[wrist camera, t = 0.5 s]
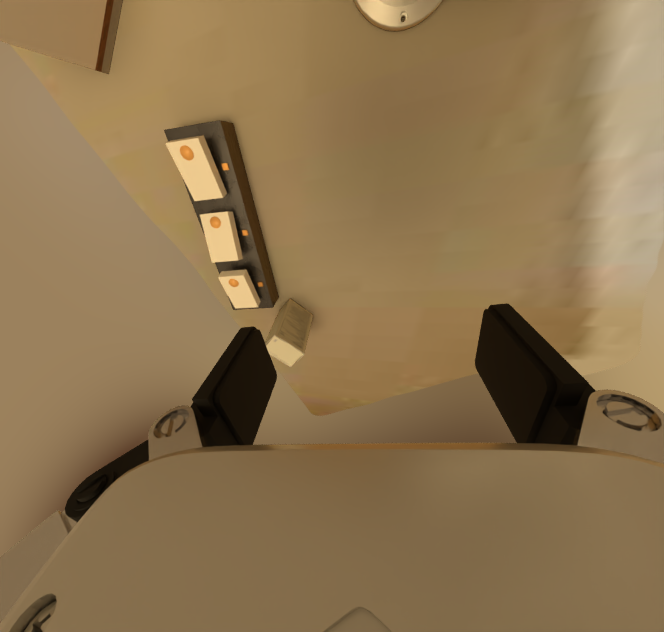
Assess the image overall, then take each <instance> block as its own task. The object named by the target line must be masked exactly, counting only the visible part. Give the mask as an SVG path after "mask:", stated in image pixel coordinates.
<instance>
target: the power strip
mask: <svg viewBox="0 0 664 632" xmlns="http://www.w3.org/2000/svg"><path fill="white" fill-rule="evenodd" d="M164 131H165V134H166V137H167V139H168V142H169V141H172V140H177V139H184V138H190V137H196V136H202V135H204V138H205V140H206V143H207V145H208V148H209V150H210V152H211V155H212V157H213V160H214V162H215V165H216V167H217V170H218V172H219V175H220V177H221V180H222V182H223V184H224V187H225V189H226V192H227V194H226V195H225V196H224V197H223V198H217V199H208V200H200V201H194V199H193V197H192V195H191V193H190V191H189V189H188V187H187V185H186V183H185V181H184V179H183V181H184V183H185V186H186V189H187V191H188V194H189V196H190V199H191V201H192V204H193V207H194V209H195V212H196V214H197V217H198V220H199V222H200V225H201V227H202V230H203V226H202V222H201V218H200V215H201V214H209V213H218V212H227V211H229V212H233V215H234V219H235V224H236V229H237V233H238V238H239V243H240V247H241V252H242V256H243V259H241V260H237V261H225V262H215V264H216V266H217V269H218V272H219V274H220V273H221V271H233V270H247V272H248V274H249V276H250V279H251V281H252V283H253V285H254V288H255V290H256V292H257V294H258V297H259V299H260V301H261V302H260V304H259V307H254V308H236V309H235V307H234V305H233V304H232V302H231V300H230V298H229V300H230V303H231V305H232V308H233V310H237V309H255V308H273V307H274V305H275V303H276V301H277V299H278V298H279V296H278V292H277V289H276V285H275V281H274V277H273V273H272V270H271V266H270V262H269V258H268V254H267V251H266V247H265V243H264V239H263V235H262V232H261V228H260V224H259V220H258V216H257V212H256V209H255V205H254V201H253V197H252V193H251V190H250V186H249V182H248V178H247V174H246V171H245V167H244V163H243V159H242V155H241V152H240V148H239V144H238V140H237V136H236V133H235V129H234V125H233V123H229V122H225V121H214V122H208V123H202V124H196V125H190V126H184V127H179V128H173V129H167V130H164ZM181 176H182V175H181ZM182 178H183V177H182ZM203 233H204V230H203ZM204 235H205V233H204ZM205 238H206V237H205ZM228 297H229V296H228Z"/></svg>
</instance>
